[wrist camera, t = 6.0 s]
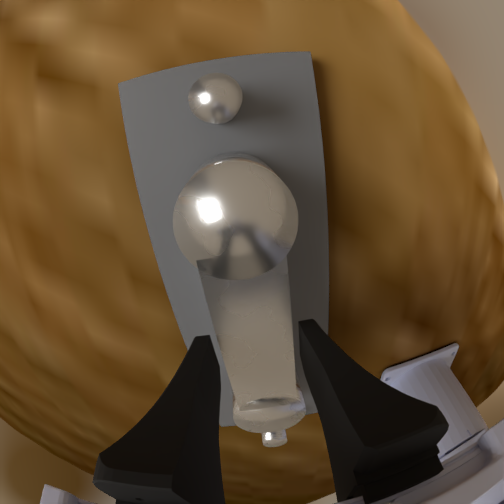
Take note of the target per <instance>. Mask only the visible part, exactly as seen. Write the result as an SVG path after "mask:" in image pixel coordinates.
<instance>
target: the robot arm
mask: <svg viewBox="0 0 504 504" xmlns="http://www.w3.org/2000/svg"><path fill="white" fill-rule="evenodd" d="M298 326H299V347H300V358H301V362H302V366H303V370H304V375H305V378H306V380H307V383H308V386H309V389H310V391H311V394H312V397H313V400H314V402H315V405H316V408H317V411H318V413H319V416H320V419H321V423H322V427H323V431H324V435H325V439H326V444H327V448H328V453H329V458H330V462H331V468H332V473H333V478H334V484H335V489H336V495H337V501H338V503H334V504H389V503H390V504H504V419H502V420H501V421H499V422H498V423H497V424H495V425H494V426H492V427H491V428H490V429H489V428H488V427H487V425H486V423H485V422H484V420H483V418H482V417H481V415H480V413H479V412H478V410H477V409H476V407H475V405H474V404H473V402H472V401H471V399H470V398H469V396H468V394H467V393H466V391H465V390H464V388H463V387H462V385H461V384H460V382H459V381H458V379H457V378H456V377H455V375H454V374H453V372H452V371H451V369H450V366H451V364H452V362H453V360H454V357H455V355H456V353H457V350H458V348H459V345H458V344H457V343H454V344H452V345H449V346H447V347H444V348H442V349H440V350H437V351H435V352H432V353H430V354H427V355H424V356H422V357H419V358H416V359H414V360H411V361H408V362H405V363H402V364H399V365H396V366H393V367H390V368H387V369H386V370H384V371H383V373H382V376H381V380H380V379H378V378H377V377H375V376H373V375H372V374H371V373H369V372H368V371H366V370H365V369H364V368H362V367H361V366H360V365H359V364H357V363H356V362H355V361H354V360H353V359H352V358H350V357H349V356H348V355H347V354H346V353H345V352H344V351H343V350H342V349H341V348H340V347H339V346H338V345H337V344H336V343H335V342H334V341H333V340H332V339H331V338H330V337H329V336H328V335H327V334H326V333H325V332H324V331H323V329H322V328H321V327H320V326H319V325H318V323H317V322H316V321H315V320H314V319H307V320H302V321H298ZM220 400H221V375H220V365H219V362H218V359H217V356H216V353H215V350H214V347H213V344H212V340H211V337H210V335H203V336H196V337H195V338H194V339H193V341H192V344H191V346H190V348H189V350H188V352H187V354H186V356H185V358H184V359H183V361H182V363H181V365H180V367H179V368H178V370H177V372H176V374H175V375H174V377H173V379H172V380H171V382H170V383H169V385H168V386H167V388H166V389H165V391H164V392H163V394H162V395H161V396H160V398H159V399H158V400H157V402H156V403H155V404H154V406H153V407H152V408H151V409H150V410H149V411H148V412H147V414H146V415H145V416H144V417H143V418H142V419H141V420H140V421H139V422H138V423H137V424H136V425H135V426H134V427H133V428H132V429H131V430H130V431H129V432H127V433H126V434H125V435H124V436H123V437H122V438H121V439H119V440H118V441H117V442H115V443H114V444H113V445H111V446H110V447H109V448H107V449H106V450H104V451H103V452H101V453H100V454H99V457H98V460H97V463H96V468H95V473H94V478H93V483H94V485H95V486H96V487H97V488H98V489H100V490H101V491H103V492H104V493H106V494H108V495H109V496H111V497H113V498H115V499H116V504H225V498H224V491H223V483H222V475H221V464H220V452H219V416H220ZM40 504H96V503H92V502H89V501H85V500H82V499H79V498H77V497H76V496H74V495H72V494H70V493H69V492H66V491H64V490H62V489H59V488H56V487H53V486H50V485H48V484H45V485H44V490H43V493H42V498H41V502H40Z"/></svg>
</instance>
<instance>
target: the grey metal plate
mask: <svg viewBox="0 0 504 504" xmlns="http://www.w3.org/2000/svg"><path fill="white" fill-rule="evenodd" d="M118 87H119V94H120V101H121V107H122V114H123V120H124V126H125V131H126V137H127V142H128V147H129V152H130V157H131V162H132V167H133V172H134V176H135V180H136V185H137V189H138V193H139V197H140V202H141V206H142V209H143V213H144V217H145V221H146V225H147V228H148V232H149V236H150V239H151V243H152V246H153V250H154V253H155V256H156V260H157V263H158V266H159V269H160V273H161V276H162V279H163V282H164V285H165V288H166V291H167V294H168V297H169V300H170V303H171V306H172V309H173V312H174V314H175V317H176V320H177V323H178V325H179V328H180V331H181V334H182V336H183V339H184V341H185V344H186V347H187V349H188V350H189V348H190V346H191V344H192V341H193V339H194V338H195V337H196V336H203V335H210V337H211V340H212V344H213V347H214V350H215V353H216V356H217V359H218V362H219V365H220V375H221V400H220V416H219V423H220V425H221V427H223V426H234V425H236V424H235V422H234V419H233V399H232V386H231V383H230V380H229V377H228V373H227V370H226V367H225V364H224V360H223V357H222V354H221V351H220V347H219V344H218V340H217V337H216V334H215V330H214V327H213V323H212V319H211V316H210V312H209V309H208V305H207V301H206V298H205V294H204V290H203V286H202V282H201V279H200V275H199V271H198V268H196V267H195V266H194V265H193V264H191V263H190V262H189V261H188V260H187V258H186V257H185V256H184V255H183V253H182V252H181V250H180V248H179V246H178V244H177V242H176V239H175V236H174V230H173V212H174V208H175V204H176V202H177V199H178V197H179V195H180V193H181V191H182V190H183V188H184V187H185V185H186V184H187V183H188V181H189V180H190V178H191V177H192V176H193V174H194V173H195V172H196V170H197V169H198V168H199V167H200V166H201V165H202V164H203V163H204V162H206V161H207V160H209V159H210V158H212V157H214V156H217V155H219V154H223V153H229V152H240V153H246V154H249V155H252V156H255V157H257V158H259V159H260V160H262V161H263V162H264V163H266V164H267V165H268V166H269V167H270V168H271V169H272V170H273V171H274V172H275V173H276V175H277V176H278V177H279V178H280V179H281V180H282V181H283V182H284V183H285V184H286V186H287V187H288V189H289V190H290V192H291V193H292V195H293V197H294V200H295V203H296V206H297V210H298V231H297V235H296V238H295V241H294V243H293V246H292V247H291V249H290V251H289V252H288V254H287V265H288V277H289V289H290V301H291V314H292V328H293V343H294V359H295V368H296V372H297V376H298V379H299V383H300V387H301V391H302V395H303V399H304V403H305V407H306V413H305V415H307V414H312V413H317V412H318V411H317V408H316V405H315V402H314V400H313V397H312V394H311V391H310V389H309V386H308V383H307V380H306V378H305V375H304V370H303V366H302V362H301V358H300V347H299V326H298V321H302V320H307V319H314V320H315V321H316V322H317V323H318V325H319V326H320V327H321V328H322V329H323V331H324V332H325V333H326V334H327V335H328V319H329V242H328V214H327V195H326V179H325V166H324V154H323V143H322V133H321V124H320V115H319V107H318V99H317V92H316V85H315V78H314V71H313V65H312V59H311V53H310V52H280V53H265V54H253V55H244V56H236V57H228V58H221V59H215V60H209V61H203V62H198V63H193V64H188V65H183V66H179V67H174V68H170V69H166V70H162V71H158V72H155V73H151V74H147V75H144V76H140V77H137V78H134V79H131V80H127V81H124V82H121V83H118ZM262 440H263V445H264V446H267V447H277V446H281V445H283V444H285V443H286V442H287V437H286V432H285V429H284V430H281V431H276V432H270V433H262Z"/></svg>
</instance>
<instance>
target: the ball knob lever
mask: <svg viewBox="0 0 504 504" xmlns="http://www.w3.org/2000/svg"><path fill="white" fill-rule="evenodd" d="M173 230H174V236H175V239H176V242H177V244H178V246H179V248H180V250H181V252H182V253H183V255H184V256H185V257H186V258H187V260H188V261H189V262H190V263H191V264H193V265H194V266H195V267H196V268H198V271H199V275H200V279H201V282H202V286H203V290H204V294H205V298H206V301H207V305H208V309H209V312H210V316H211V319H212V323H213V327H214V330H215V334H216V337H217V340H218V344H219V347H220V351H221V354H222V357H223V360H224V364H225V367H226V370H227V373H228V377H229V380H230V383H231V386H232V399H233V419H234V422H235V424H236V425H237V426H238V427H240V428H241V429H244V430H246V431H250V432H256V433H270V432H276V431H281V430H284V429H287V428H289V427H291V426H293V425H295V424H297V423H298V422H299V421H300V420H302V418H303V417H304V416H305V413H306V407H305V403H304V399H303V395H302V391H301V387H300V383H299V379H298V376H297V372H296V368H295V359H294V343H293V328H292V314H291V301H290V289H289V277H288V265H287V254H288V252H289V251H290V249H291V247H292V246H293V243H294V241H295V238H296V235H297V231H298V210H297V206H296V203H295V200H294V197H293V195H292V193H291V192H290V190H289V189H288V187H287V186H286V184H285V183H284V182H283V181H282V180H281V179H280V178H279V177H278V176H277V175H276V173H275V172H274V171H273V170H272V169H271V168H270V167H269V166H268V165H267V164H266V163H264V162H263V161H262V160H260V159H259V158H257V157H255V156H252V155H249V154H246V153H240V152H229V153H223V154H219V155H217V156H214V157H212V158H210V159H209V160H207V161H206V162H204V163H203V164H202V165H201V166H200V167H199V168H198V169H197V170H196V172H195V173H194V174H193V176H192V177H191V178H190V180H189V181H188V183H187V184H186V185H185V187H184V188H183V190H182V191H181V193H180V195H179V197H178V199H177V202H176V204H175V208H174V212H173Z"/></svg>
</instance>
